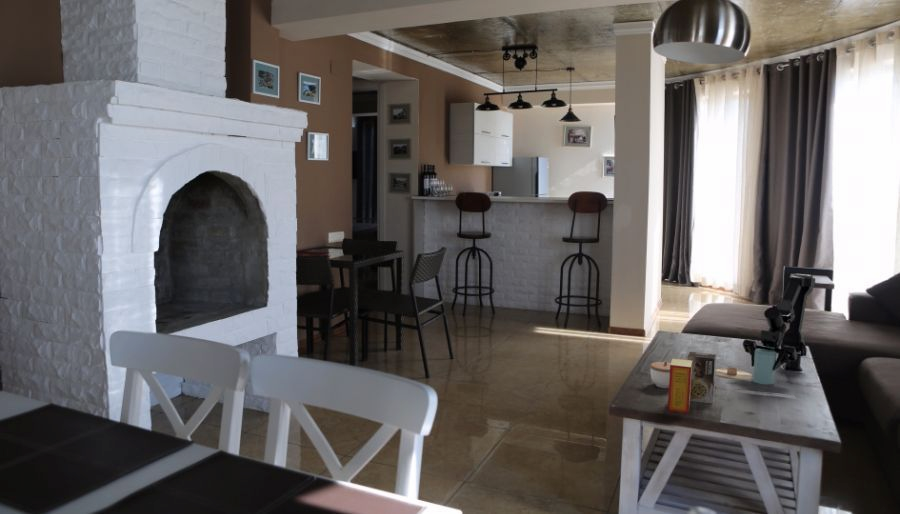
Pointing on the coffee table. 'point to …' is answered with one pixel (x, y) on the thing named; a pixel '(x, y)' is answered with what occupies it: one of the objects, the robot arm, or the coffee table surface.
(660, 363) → the lidded jar
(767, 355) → the teal domed canister
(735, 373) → the bowl
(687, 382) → the baking soda box
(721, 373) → the oak plate
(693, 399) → the coffee box
